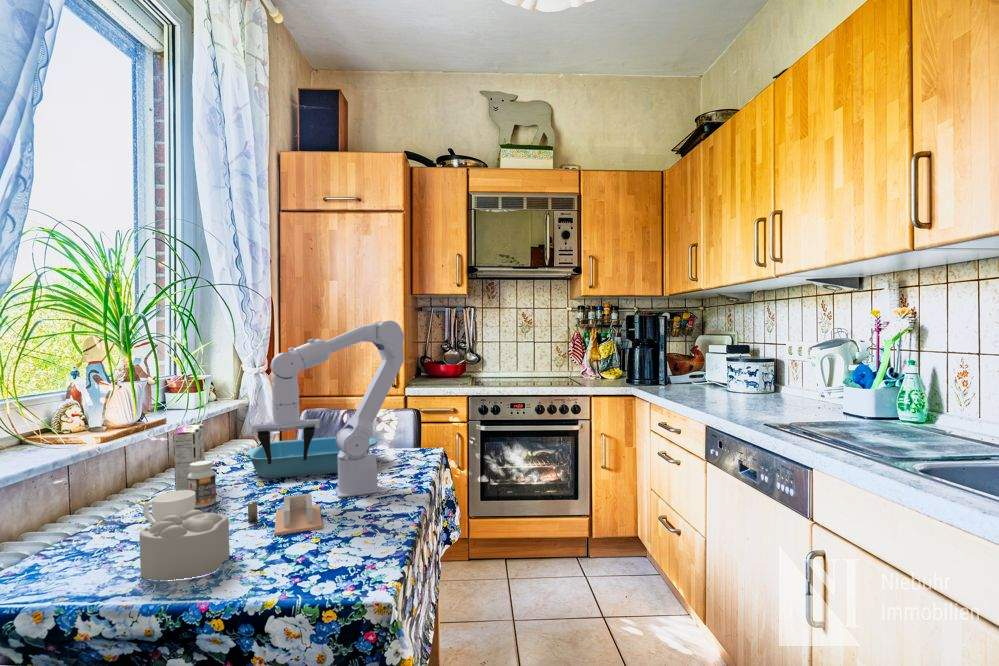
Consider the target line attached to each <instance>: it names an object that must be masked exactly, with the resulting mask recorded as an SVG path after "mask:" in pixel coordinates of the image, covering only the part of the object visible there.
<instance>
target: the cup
mask: <svg viewBox="0 0 999 666" xmlns="http://www.w3.org/2000/svg"><path fill="white" fill-rule="evenodd" d="M195 505H196V493H195V491H192V490H180V491H176V490H173V491H168V492H165V493H161V494H160V493H159V494H158V495H156V496H153V497H152V498H151V500H148V501H146V502H145V503H144V505H143V506H142V515H143V517H144V518H145V519H146V521H148V522H149V523H150V524H156V523H158V522H159V521H160V520H161V519H163V518H164V517H166V516H170V515H176V516H182V517H183V515H184V514H186V513H187V512H189V511H191V510H196V508H195ZM150 506H151V513H152V515H151V514H150V511H149V508H150Z"/></svg>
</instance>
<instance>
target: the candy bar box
mask: <svg viewBox="0 0 999 666" xmlns="http://www.w3.org/2000/svg"><path fill="white" fill-rule="evenodd" d="M204 436H205V433H204V424H203V423H201V424H190V425H189V424H186V425H183V426H182V427H181V428H179V429H177V430H176V431H175V432H174V433H173V434H172V439H173V440H172V441H173V445H172V446H173V461H174V480H175V481H174V483H175V484H174V486H175V491H180V490H188V484H187V477H188V475H189V474H190V473H191V470H190V464H191V463H194V462H198V461H206V459H205V457H206V455H205V440H204V439H205V437H204Z"/></svg>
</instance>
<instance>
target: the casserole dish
mask: <svg viewBox="0 0 999 666" xmlns="http://www.w3.org/2000/svg"><path fill="white" fill-rule="evenodd" d="M377 444H378V439H377V438H374V437H370V439H369V448H368V450H367V454H370V453H369V451H370V449H371V447H374V446H375V445H377ZM270 449H271V458H272V462H271V464H268V461H267V456H266V453H265V451H264V448H263V446H262V444H260V445H259V446H257V447H253V448H250V449H249V450H247V451H246V452H245V453H244V456H245V457H247V458H250V460H251V463H252V465H253V468H254V471H255V472H256V474H257V475H258V476H260V477H261V478H264V477H265V478H264V479H280V478H279V477H285V478H294V477H293V476H298V477H305V476H304V475H309V476H317V475H316V474H321V475H328V474H329V475H330V473H331V474H338V457H337V455H338V454H339V452H340V449H339V448H338V446H337V445H336V436H329V437H320V438H319V437H315V438H312V440H311V442H310V445H309V449H308V453H307V460H303V450H304V438H301V439H292V440H279V441H273V442H271V441H270Z"/></svg>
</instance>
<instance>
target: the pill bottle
mask: <svg viewBox="0 0 999 666" xmlns="http://www.w3.org/2000/svg"><path fill="white" fill-rule="evenodd" d="M213 466H214V465H213V461H212V460H205V461H198V462H194V463H191V464H190V470H191V473H190V474H189V475H188V477H187V484H188V490H192V491H195V493H196V505H195V509H199V508H205V507H209V505H210V506H211V505H213V504H215V503H216V501H217V494H216V493H217V492H216V491H217V490H216V488H217V487H216V486H217V485H216V484H217V483H216V472H215V471H214V470H213V469H212V468H213Z"/></svg>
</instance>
